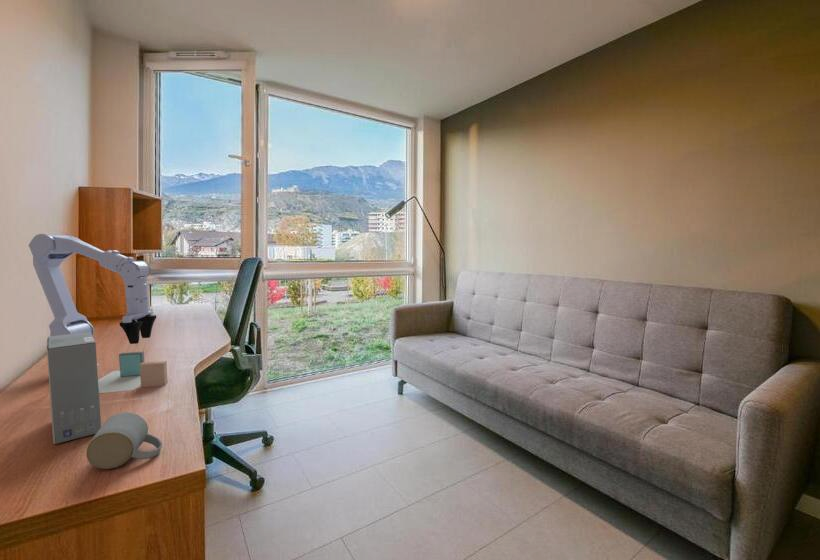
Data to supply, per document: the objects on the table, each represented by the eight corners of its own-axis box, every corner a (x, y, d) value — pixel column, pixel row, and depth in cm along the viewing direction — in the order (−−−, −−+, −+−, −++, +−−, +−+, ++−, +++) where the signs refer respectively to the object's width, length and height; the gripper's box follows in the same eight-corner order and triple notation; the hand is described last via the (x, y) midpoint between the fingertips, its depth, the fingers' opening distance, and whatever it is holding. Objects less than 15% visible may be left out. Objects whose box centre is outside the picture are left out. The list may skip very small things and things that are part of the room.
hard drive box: (102, 433, 79) (96, 342, 78) (53, 446, 74) (45, 349, 72) (96, 410, 91) (90, 330, 89) (53, 420, 85) (45, 335, 84)
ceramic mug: (84, 476, 64) (81, 434, 64) (103, 452, 72) (101, 414, 71) (155, 464, 68) (154, 424, 68) (166, 442, 76) (165, 406, 75)
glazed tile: (123, 374, 115) (121, 352, 114) (145, 373, 116) (143, 351, 115) (119, 377, 113) (118, 354, 112) (142, 375, 114) (140, 353, 114)
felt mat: (112, 372, 118) (112, 371, 118) (162, 368, 122) (162, 367, 122) (73, 396, 99) (73, 395, 99) (133, 391, 102) (133, 390, 102)
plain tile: (144, 386, 106) (142, 362, 106) (167, 384, 108) (166, 360, 107) (141, 388, 105) (139, 364, 104) (165, 386, 106) (163, 362, 105)
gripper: (139, 301, 112) (143, 345, 113) (161, 295, 126) (164, 334, 127) (113, 302, 110) (116, 347, 111) (138, 296, 124) (141, 335, 126)
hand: (140, 340), depth 119 cm, fingers open, 7 cm apart
